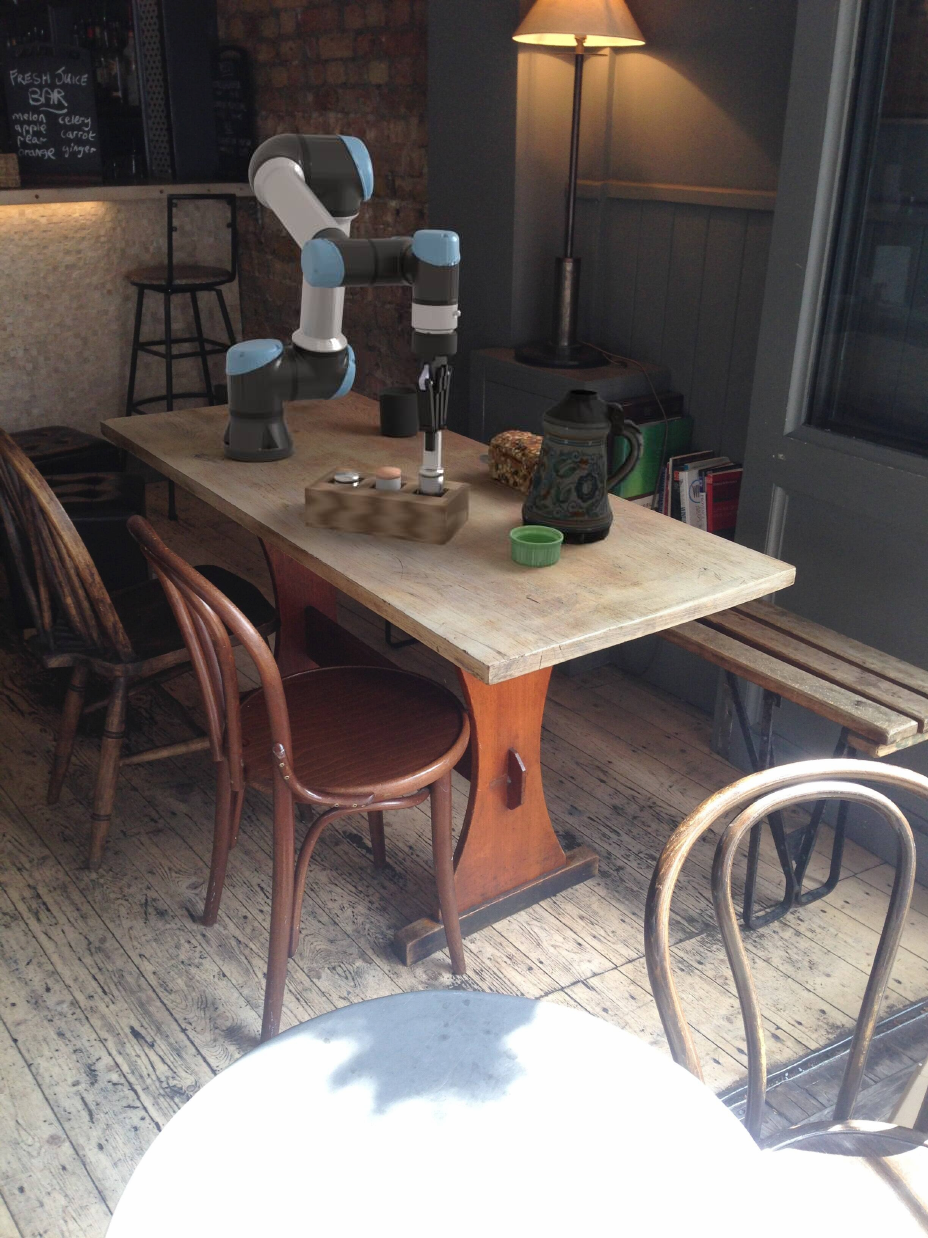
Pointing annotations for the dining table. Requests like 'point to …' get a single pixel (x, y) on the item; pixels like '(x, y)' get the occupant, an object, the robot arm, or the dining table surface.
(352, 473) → the plug
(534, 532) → the ramekin
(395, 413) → the pen holder
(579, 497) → the beer stein
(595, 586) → the dining table surface
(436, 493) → the plug
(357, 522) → the block
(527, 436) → the bread
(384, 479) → the plug terracotta
